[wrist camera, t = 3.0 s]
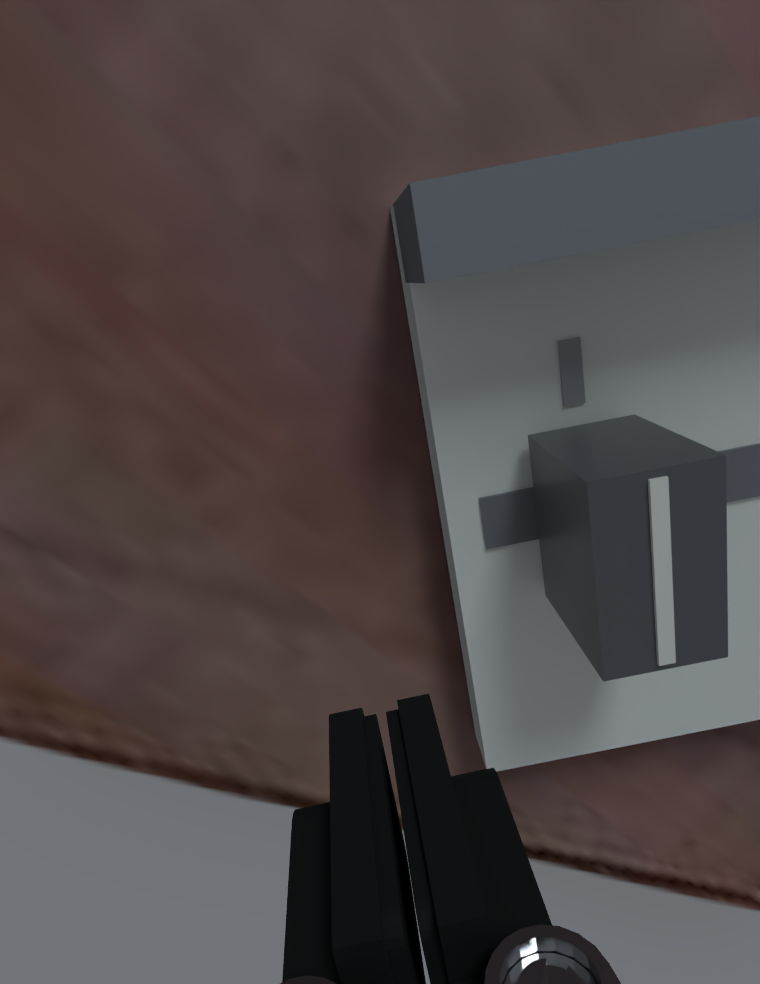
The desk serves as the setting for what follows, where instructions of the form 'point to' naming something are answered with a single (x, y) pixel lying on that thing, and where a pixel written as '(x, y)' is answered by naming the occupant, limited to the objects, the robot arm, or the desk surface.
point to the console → (585, 404)
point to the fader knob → (633, 543)
